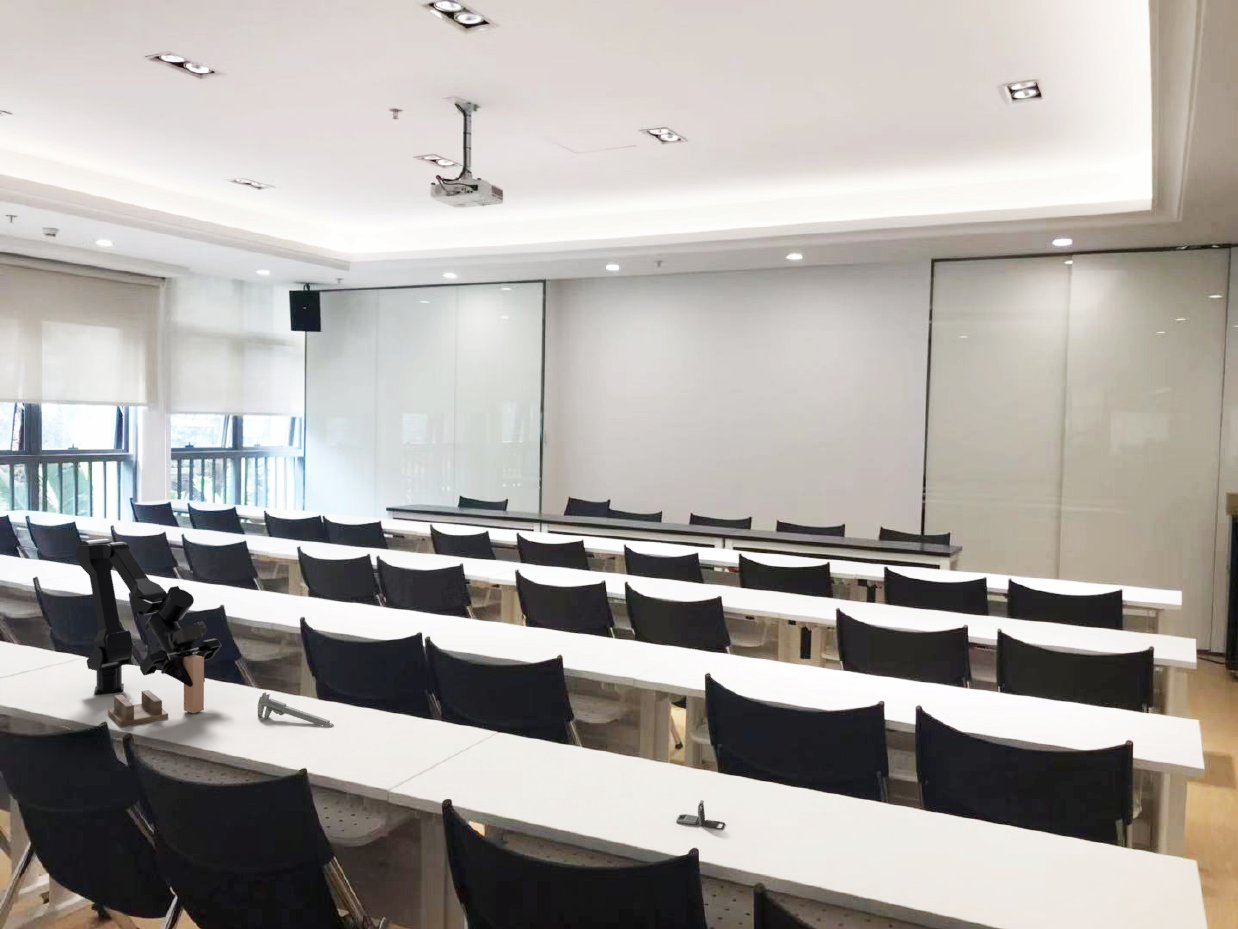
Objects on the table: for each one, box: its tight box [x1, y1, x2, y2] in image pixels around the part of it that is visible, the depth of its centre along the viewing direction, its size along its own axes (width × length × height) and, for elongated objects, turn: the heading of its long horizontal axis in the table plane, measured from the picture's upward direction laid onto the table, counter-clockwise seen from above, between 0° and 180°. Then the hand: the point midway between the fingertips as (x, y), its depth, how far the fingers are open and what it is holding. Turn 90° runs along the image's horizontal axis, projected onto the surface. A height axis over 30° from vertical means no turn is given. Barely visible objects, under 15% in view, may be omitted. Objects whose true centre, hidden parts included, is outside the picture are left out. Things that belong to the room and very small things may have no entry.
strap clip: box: [675, 799, 726, 831], centre depth 165 cm, size 8×3×4 cm, turn 73°
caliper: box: [257, 691, 335, 728], centre depth 216 cm, size 20×1×6 cm, turn 73°
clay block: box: [183, 655, 205, 714], centre depth 222 cm, size 4×3×13 cm
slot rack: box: [107, 689, 169, 728], centre depth 218 cm, size 12×10×4 cm
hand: (197, 684), depth 221 cm, fingers closed on clay block, 3 cm apart
